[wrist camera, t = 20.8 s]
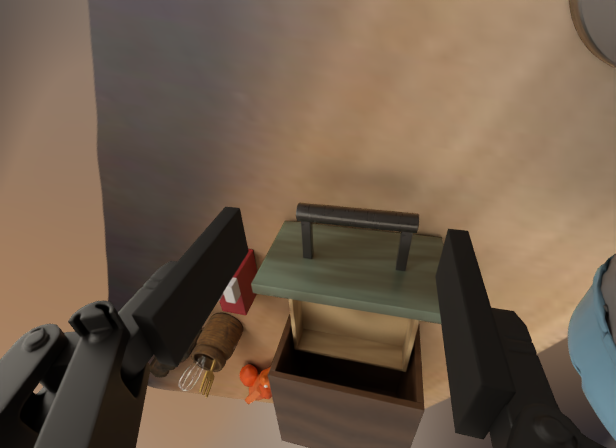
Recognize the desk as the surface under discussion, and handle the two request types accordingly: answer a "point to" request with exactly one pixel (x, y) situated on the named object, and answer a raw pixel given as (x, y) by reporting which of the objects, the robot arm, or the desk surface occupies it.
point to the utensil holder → (215, 346)
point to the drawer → (354, 282)
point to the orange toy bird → (256, 383)
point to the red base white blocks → (240, 287)
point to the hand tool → (163, 369)
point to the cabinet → (344, 399)
